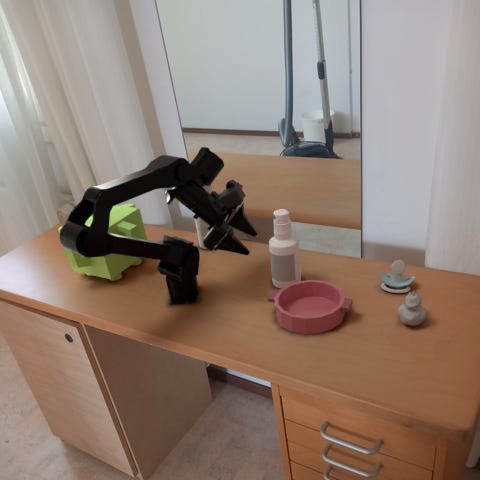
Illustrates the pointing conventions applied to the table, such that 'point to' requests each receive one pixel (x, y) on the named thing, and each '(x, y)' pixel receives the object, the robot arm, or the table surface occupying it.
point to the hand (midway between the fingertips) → (252, 244)
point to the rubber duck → (412, 310)
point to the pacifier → (396, 278)
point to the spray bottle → (284, 251)
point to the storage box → (111, 266)
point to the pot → (310, 306)
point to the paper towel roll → (202, 224)
